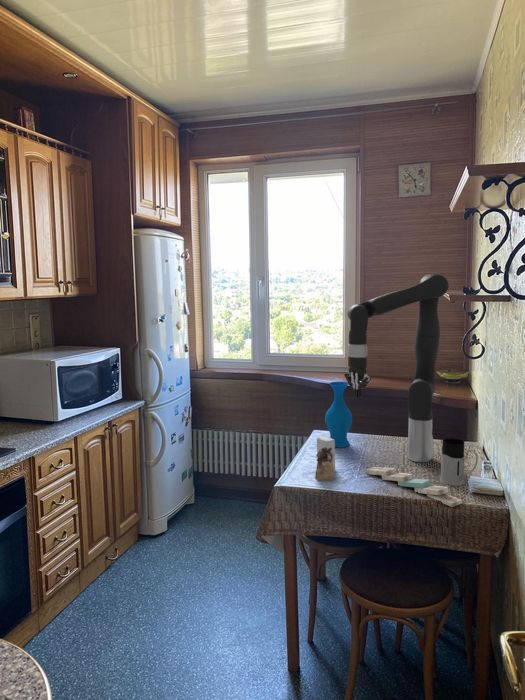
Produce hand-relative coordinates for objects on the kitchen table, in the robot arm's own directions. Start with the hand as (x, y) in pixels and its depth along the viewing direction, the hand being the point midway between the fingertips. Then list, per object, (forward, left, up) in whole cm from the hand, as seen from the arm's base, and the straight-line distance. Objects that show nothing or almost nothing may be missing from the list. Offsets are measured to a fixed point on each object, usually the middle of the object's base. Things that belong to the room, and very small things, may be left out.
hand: (357, 397), depth 211 cm
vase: (-9, -20, -27) cm, 35 cm away
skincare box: (+16, -1, -27) cm, 31 cm away
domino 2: (+5, +20, -26) cm, 33 cm away
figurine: (+23, +6, -27) cm, 35 cm away
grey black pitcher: (-12, +39, -27) cm, 49 cm away
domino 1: (+5, +12, -26) cm, 29 cm away
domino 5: (+4, +40, -26) cm, 48 cm away
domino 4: (+4, +35, -26) cm, 43 cm away
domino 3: (+4, +27, -26) cm, 37 cm away
